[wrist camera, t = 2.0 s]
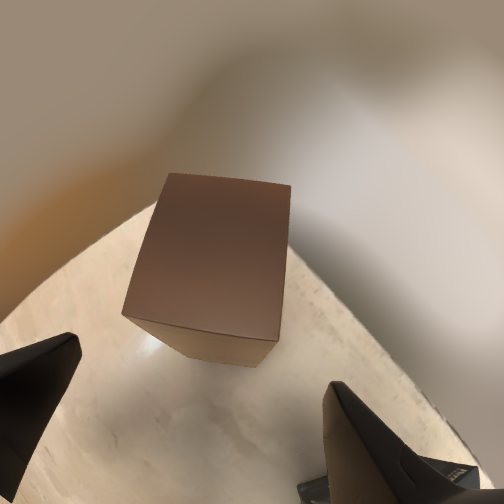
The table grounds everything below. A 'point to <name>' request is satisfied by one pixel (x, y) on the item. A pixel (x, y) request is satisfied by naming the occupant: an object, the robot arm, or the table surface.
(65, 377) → the robot arm
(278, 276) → the walnut block
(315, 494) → the box
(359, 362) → the table surface
